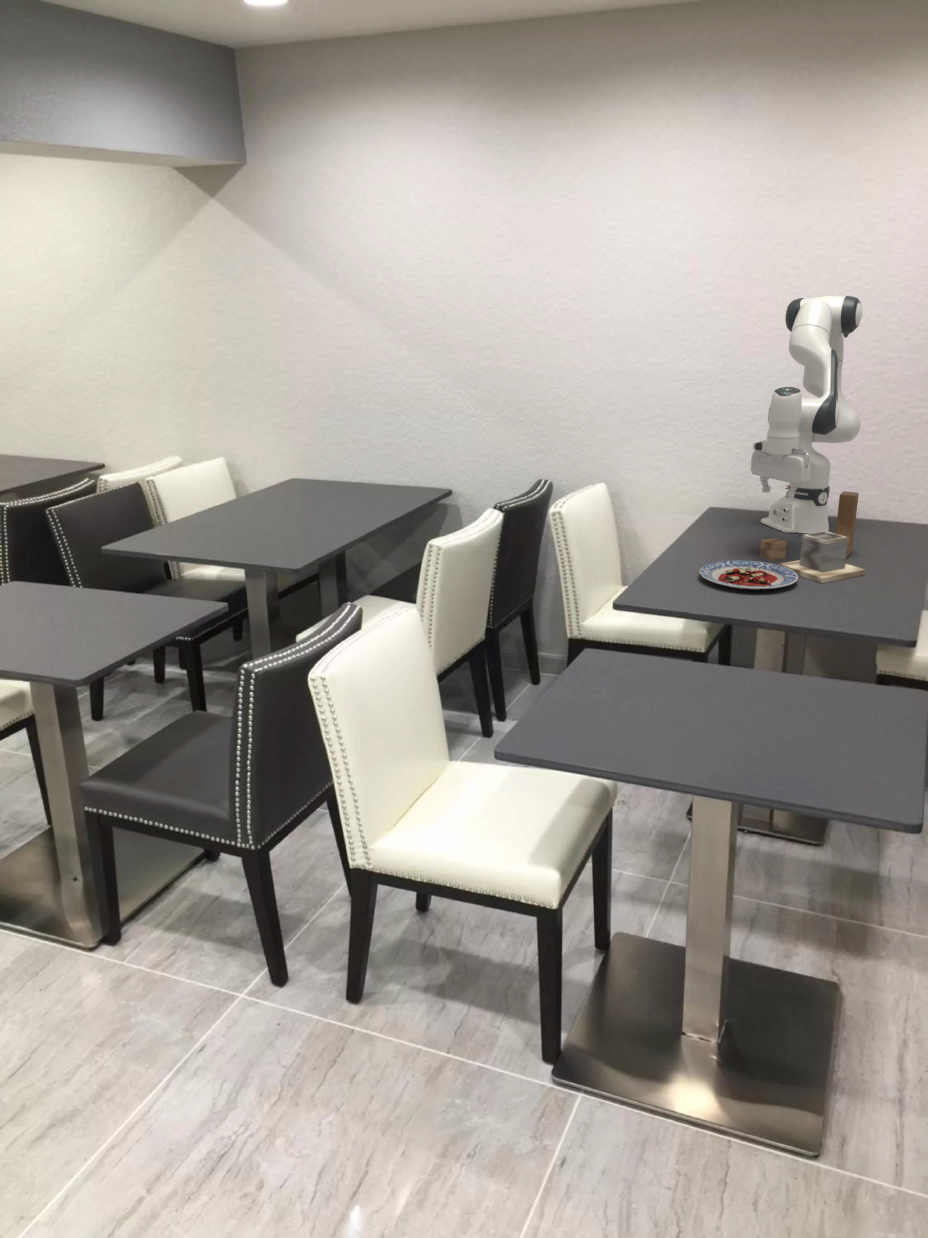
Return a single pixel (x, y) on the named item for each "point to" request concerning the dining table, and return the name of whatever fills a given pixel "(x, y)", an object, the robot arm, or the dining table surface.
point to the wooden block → (847, 517)
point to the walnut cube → (773, 549)
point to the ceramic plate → (748, 574)
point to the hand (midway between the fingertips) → (777, 495)
